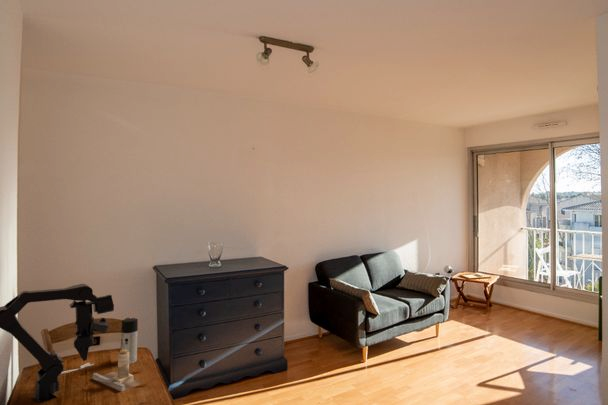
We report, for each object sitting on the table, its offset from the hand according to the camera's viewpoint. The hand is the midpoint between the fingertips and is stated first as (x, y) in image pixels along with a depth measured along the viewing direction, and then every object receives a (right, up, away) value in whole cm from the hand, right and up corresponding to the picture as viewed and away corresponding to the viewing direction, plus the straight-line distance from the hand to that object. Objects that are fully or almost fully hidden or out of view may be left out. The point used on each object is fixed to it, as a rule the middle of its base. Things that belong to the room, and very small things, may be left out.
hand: (85, 356), depth 152 cm
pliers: (-12, -13, +14) cm, 22 cm away
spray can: (+7, -13, +22) cm, 27 cm away
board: (+12, -12, +2) cm, 17 cm away
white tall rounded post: (+15, -11, 0) cm, 18 cm away
